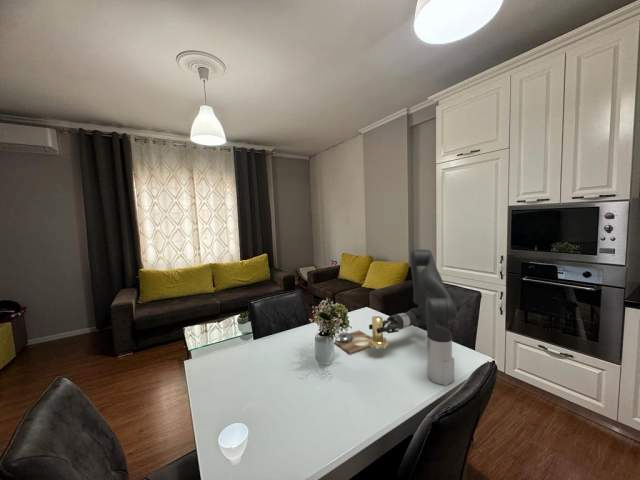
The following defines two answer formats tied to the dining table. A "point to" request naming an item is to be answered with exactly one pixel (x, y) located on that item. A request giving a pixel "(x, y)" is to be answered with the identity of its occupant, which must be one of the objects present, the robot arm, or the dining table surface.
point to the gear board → (355, 343)
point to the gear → (345, 338)
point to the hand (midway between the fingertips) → (373, 329)
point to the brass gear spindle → (377, 334)
